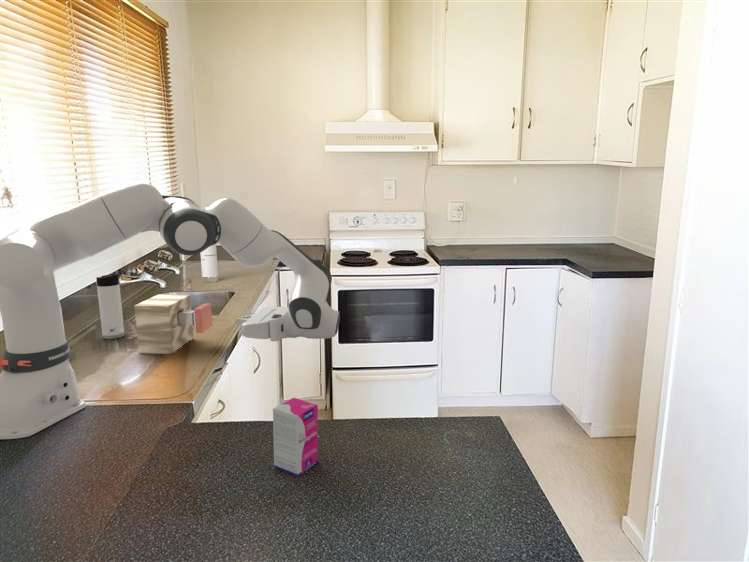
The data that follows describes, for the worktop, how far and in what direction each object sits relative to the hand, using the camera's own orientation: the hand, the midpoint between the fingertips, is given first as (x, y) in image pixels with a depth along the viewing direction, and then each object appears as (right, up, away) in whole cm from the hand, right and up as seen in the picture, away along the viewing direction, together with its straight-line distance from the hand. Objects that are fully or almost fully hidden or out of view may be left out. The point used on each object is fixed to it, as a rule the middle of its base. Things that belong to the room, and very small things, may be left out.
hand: (237, 320), depth 159 cm
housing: (-22, -8, +4) cm, 24 cm away
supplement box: (+26, -22, -61) cm, 70 cm away
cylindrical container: (-36, +11, +95) cm, 102 cm away
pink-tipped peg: (-16, -3, +3) cm, 17 cm away
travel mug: (-42, -6, +14) cm, 45 cm away
